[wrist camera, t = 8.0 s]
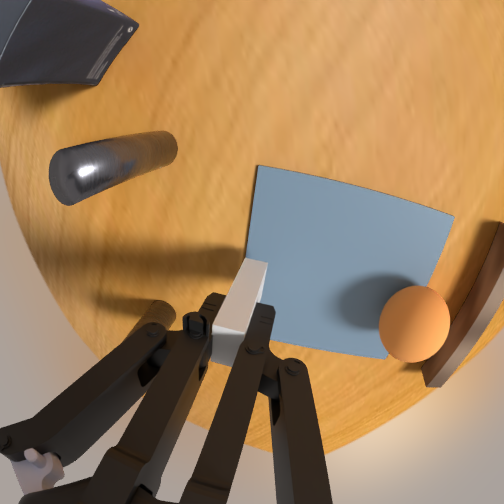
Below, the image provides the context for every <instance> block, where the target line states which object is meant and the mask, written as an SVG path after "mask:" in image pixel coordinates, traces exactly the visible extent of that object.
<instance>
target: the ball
mask: <svg viewBox="0 0 504 504" xmlns="http://www.w3.org/2000/svg"><path fill="white" fill-rule="evenodd" d="M449 328H450V315H449V310H448V307H447V305H446V303H445V301H444V299H443V298H442V297H441V296H440V295H439V294H438V293H437V292H436V291H434V290H433V289H431V288H428V287H425V286H410V287H406V288H404V289H402V290H400V291H398V292H397V293H395V294H394V295H393V296H392V297H391V298H390V299H389V300H388V301H387V303H386V304H385V306H384V308H383V310H382V312H381V315H380V319H379V335H380V339H381V342H382V344H383V346H384V347H385V349H386V350H387V352H388V353H389V354H390V355H392V356H393V357H394V358H396V359H398V360H400V361H404V362H419V361H423V360H425V359H427V358H429V357H431V356H432V355H434V354H435V353H436V352H437V351H438V350H439V349H440V348H441V347H442V345H443V344H444V342H445V340H446V338H447V335H448V332H449Z"/></svg>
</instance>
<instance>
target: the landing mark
mask: <svg viewBox="0 0 504 504" xmlns="http://www.w3.org/2000/svg"><path fill="white" fill-rule="evenodd" d="M454 218H455V217H454V216H452V215H449V214H447V213H444V212H441V211H438V210H435V209H432V208H429V207H427V206H424V205H421V204H417V203H414V202H411V201H408V200H405V199H402V198H398V197H395V196H392V195H388V194H385V193H381V192H378V191H374V190H371V189H367V188H363V187H359V186H356V185H352V184H348V183H344V182H340V181H335V180H331V179H327V178H323V177H318V176H314V175H309V174H304V173H299V172H294V171H289V170H284V169H279V168H273V167H268V166H262V165H259V166H258V173H257V180H256V187H255V194H254V201H253V208H252V215H251V222H250V229H249V236H248V244H247V251H246V258H249V259H253V260H258V261H262V262H267V263H268V265H267V270H266V275H265V281H264V286H263V291H262V296H261V300H260V303H262V304H267V305H271V306H274V309H275V311H276V315H275V319H274V324H273V328H272V333H271V337H270V340H274V341H279V342H283V343H288V344H293V345H298V346H303V347H308V348H314V349H319V350H325V351H331V352H337V353H343V354H349V355H356V356H363V357H370V358H378V359H386V357H387V356H388V354H389V353H388V352H387V350H386V349H385V347H384V346H383V344H382V342H381V339H380V335H379V319H380V315H381V312H382V310H383V308H384V306H385V304H386V303H387V301H388V300H389V299H390V298H391V297H392V296H393V295H394V294H395V293H397V292H398V291H400V290H402V289H404V288H406V287H410V286H425V287H426V286H427V284H428V282H429V280H430V278H431V276H432V273H433V271H434V269H435V267H436V264H437V262H438V260H439V257H440V255H441V253H442V250H443V248H444V245H445V243H446V240H447V237H448V235H449V232H450V229H451V226H452V224H453V221H454Z"/></svg>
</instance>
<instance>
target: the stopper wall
mask: <svg viewBox="0 0 504 504" xmlns="http://www.w3.org/2000/svg"><path fill="white" fill-rule="evenodd" d="M503 299H504V223H502V222H500V224H499V227H498V230H497V232H496V235H495V238H494V240H493V243H492V245H491V248H490V250H489V253H488V255H487V257H486V260H485V262H484V264H483V266H482V269H481V271H480V273H479V275H478V277H477V279H476V281H475V283H474V285H473V287H472V289H471V291H470V293H469V295H468V297H467V299H466V300H465V302H464V304H463V306H462V308H461V309H460V311H459V313H458V314H457V316H456V318H455V319H454V321H453V323H452V324H451V326H450V328H449V332H448V335H447V338H446V340H445V342H444V344H443V345H442V347H441V348H440V349H439V350H438V351H437V352H436V353H435V354H434V355H432V356H431V357H429V358H428V360H427V361H426V363H425V364H424V365H423V366H422V368H421V370H422V374H423V377H424V381H425V385H426V387H442V385H443V384H444V383H445V382H446V381H447V380H448V378H449V377H450V376H451V375H452V374H453V372H454V371H455V370H456V369H457V368H458V366H459V365H460V364H461V363H462V361H463V360H464V359H465V357H466V356H467V355H468V353H469V352H470V351H471V349H472V348H473V346H474V345H475V344H476V342H477V341H478V339H479V338H480V336H481V335H482V333H483V332H484V330H485V329H486V327H487V326H488V324H489V323H490V321H491V319H492V318H493V316H494V315H495V313H496V311H497V309H498V308H499V306H500V304H501V302H502V301H503Z"/></svg>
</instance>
